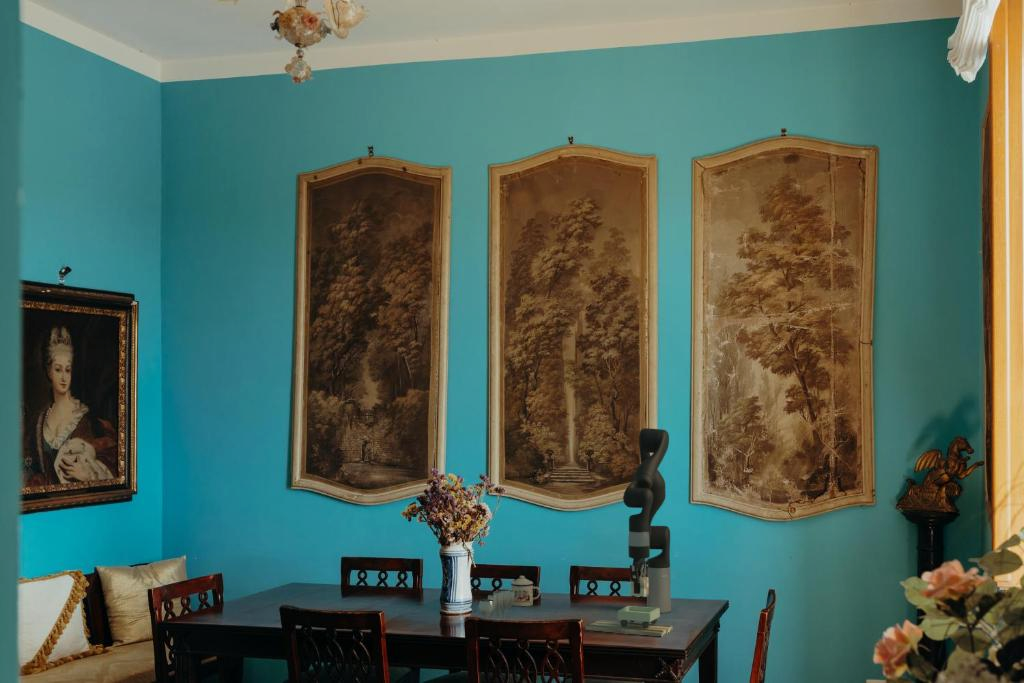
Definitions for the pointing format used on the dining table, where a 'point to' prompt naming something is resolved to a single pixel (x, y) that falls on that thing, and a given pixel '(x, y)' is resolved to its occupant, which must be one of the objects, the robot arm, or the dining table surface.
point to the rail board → (629, 628)
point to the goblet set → (497, 603)
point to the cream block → (641, 587)
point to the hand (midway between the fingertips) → (639, 592)
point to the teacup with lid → (523, 592)
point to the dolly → (638, 615)
